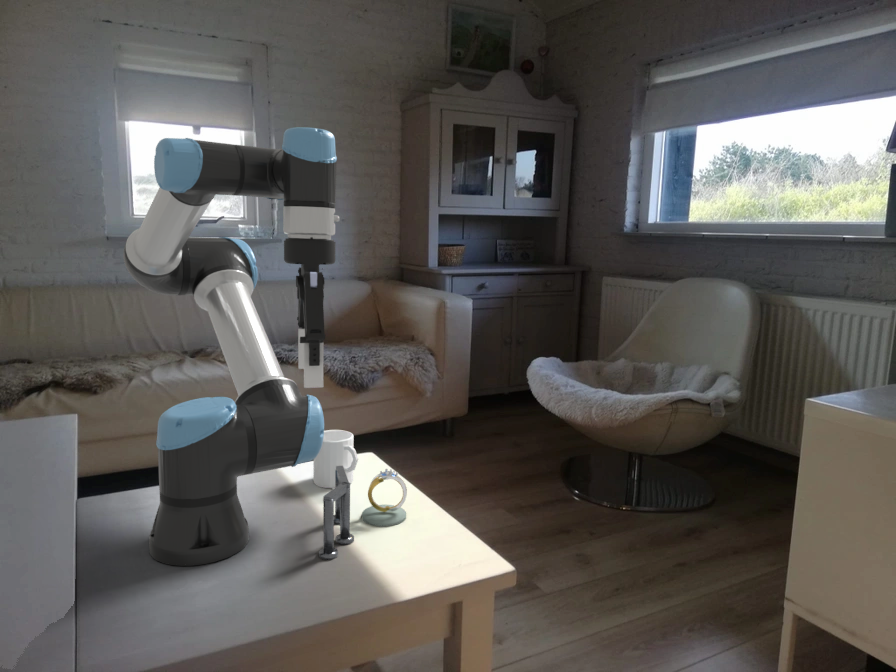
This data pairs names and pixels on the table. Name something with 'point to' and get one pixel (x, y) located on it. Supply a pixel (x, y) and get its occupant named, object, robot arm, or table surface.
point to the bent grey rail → (336, 515)
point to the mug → (335, 457)
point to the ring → (384, 476)
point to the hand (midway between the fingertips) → (310, 377)
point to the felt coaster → (383, 516)
